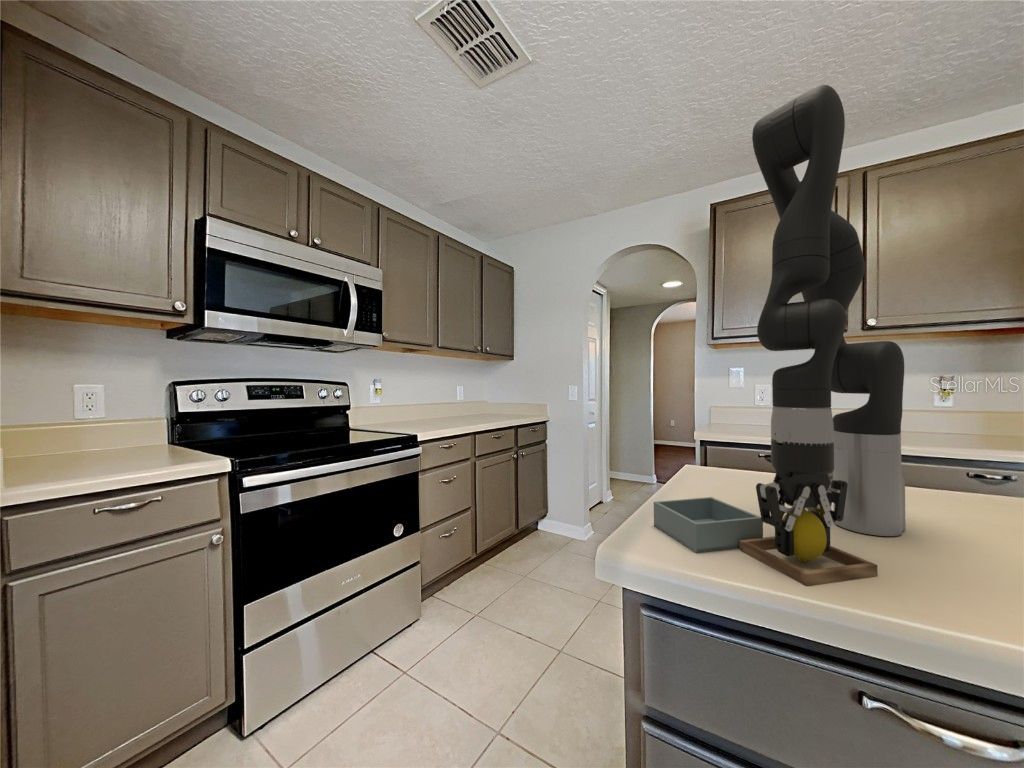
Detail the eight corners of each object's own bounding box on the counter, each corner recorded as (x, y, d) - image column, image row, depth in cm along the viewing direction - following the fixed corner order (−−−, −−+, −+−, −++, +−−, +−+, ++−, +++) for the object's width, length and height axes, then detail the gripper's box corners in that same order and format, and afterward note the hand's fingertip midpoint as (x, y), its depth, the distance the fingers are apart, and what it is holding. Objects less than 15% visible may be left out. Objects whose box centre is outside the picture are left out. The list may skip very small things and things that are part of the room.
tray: (800, 542, 66) (800, 533, 66) (877, 575, 55) (877, 564, 55) (739, 549, 64) (739, 540, 64) (806, 585, 52) (806, 574, 52)
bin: (711, 520, 77) (711, 496, 77) (763, 545, 65) (762, 517, 65) (653, 525, 75) (653, 501, 75) (696, 553, 63) (696, 524, 63)
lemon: (835, 572, 56) (834, 514, 56) (791, 569, 57) (790, 512, 57) (814, 555, 61) (813, 503, 61) (774, 552, 62) (773, 501, 62)
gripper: (817, 432, 64) (818, 538, 64) (739, 436, 61) (741, 546, 61) (867, 438, 57) (869, 558, 57) (781, 443, 54) (783, 568, 54)
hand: (802, 551), depth 59 cm, fingers closed on lemon, 5 cm apart
